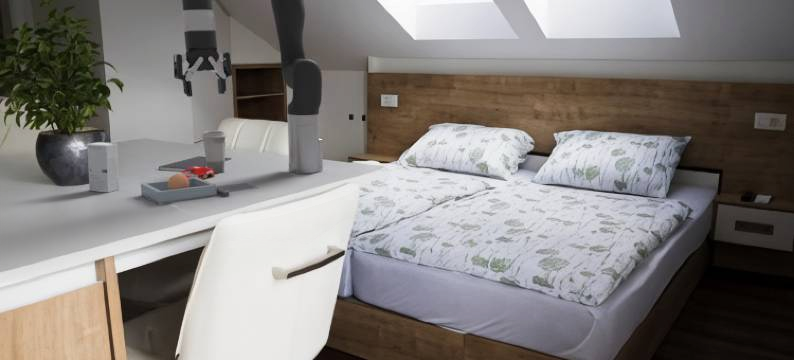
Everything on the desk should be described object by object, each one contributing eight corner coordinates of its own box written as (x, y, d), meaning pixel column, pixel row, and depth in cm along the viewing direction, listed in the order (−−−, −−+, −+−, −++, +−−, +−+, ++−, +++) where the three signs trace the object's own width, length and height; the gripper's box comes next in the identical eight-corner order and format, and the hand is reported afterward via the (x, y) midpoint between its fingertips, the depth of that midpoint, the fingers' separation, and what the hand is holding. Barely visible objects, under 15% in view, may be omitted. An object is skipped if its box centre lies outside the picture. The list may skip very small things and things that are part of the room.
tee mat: (245, 184, 172) (245, 182, 172) (258, 189, 166) (258, 187, 166) (217, 187, 167) (217, 186, 167) (229, 193, 161) (229, 191, 161)
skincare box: (88, 191, 162) (84, 144, 159) (101, 187, 166) (98, 141, 164) (108, 193, 160) (104, 145, 158) (121, 189, 164) (117, 142, 162)
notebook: (199, 160, 213) (159, 171, 193) (198, 156, 212) (158, 166, 192) (232, 162, 209) (195, 173, 189) (232, 158, 209) (195, 168, 189)
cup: (221, 169, 194) (219, 130, 192) (232, 172, 189) (230, 132, 187) (199, 172, 189) (197, 131, 187) (210, 175, 184) (208, 134, 182)
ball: (185, 190, 160) (184, 171, 159) (192, 194, 156) (191, 174, 155) (165, 193, 157) (164, 173, 156) (172, 197, 153) (171, 176, 152)
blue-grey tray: (196, 188, 166) (196, 177, 165) (216, 197, 156) (216, 185, 156) (141, 195, 157) (140, 183, 157) (159, 205, 148) (158, 192, 147)
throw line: (200, 185, 169) (200, 180, 169) (229, 197, 155) (229, 192, 155) (196, 186, 169) (196, 181, 168) (224, 198, 155) (224, 192, 154)
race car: (184, 187, 169) (183, 172, 168) (169, 185, 171) (168, 170, 171) (218, 178, 181) (217, 164, 180) (203, 177, 183) (202, 163, 182)
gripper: (220, 29, 165) (225, 92, 168) (165, 30, 156) (172, 96, 160) (233, 28, 159) (238, 93, 163) (177, 29, 150) (183, 98, 154)
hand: (205, 95), depth 161 cm, fingers open, 8 cm apart
